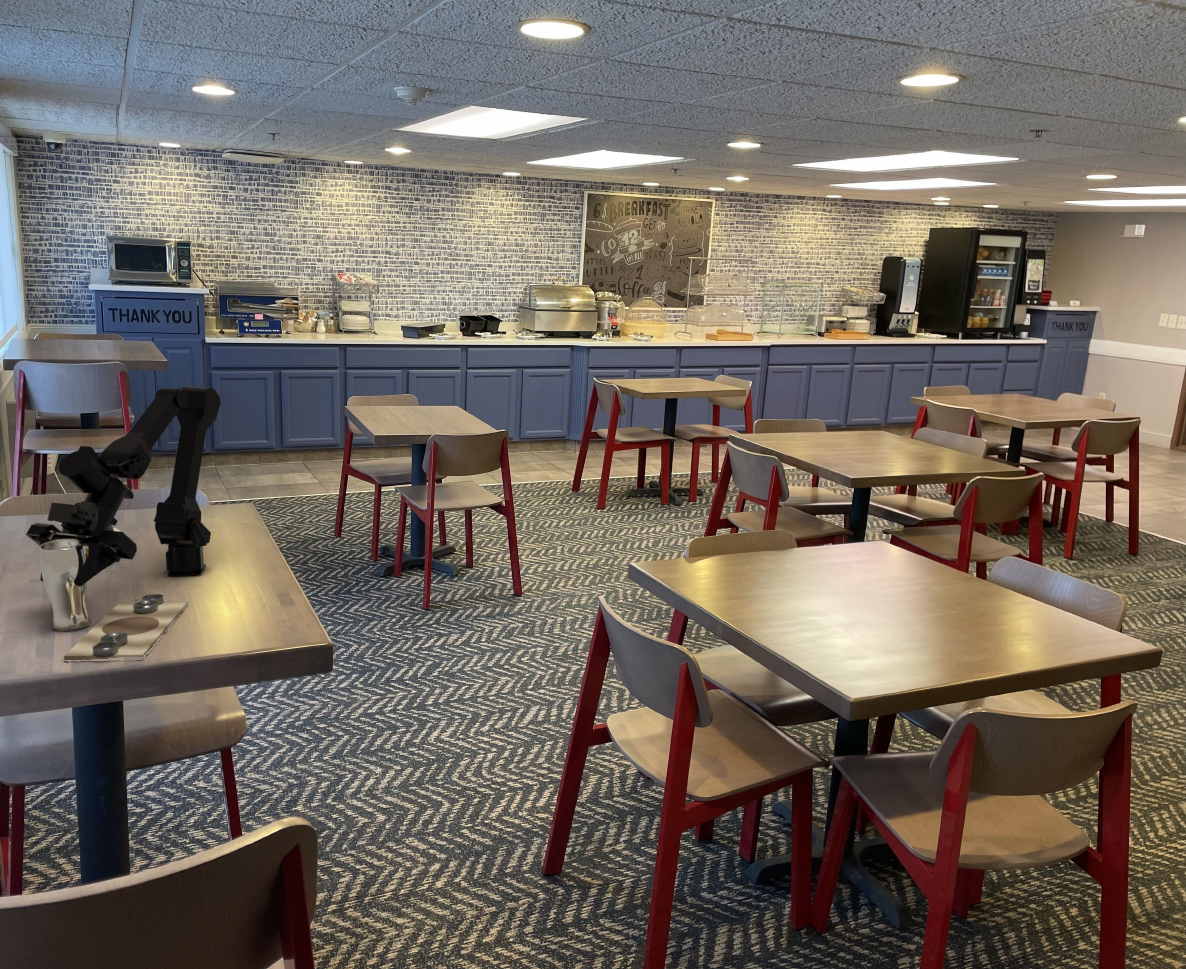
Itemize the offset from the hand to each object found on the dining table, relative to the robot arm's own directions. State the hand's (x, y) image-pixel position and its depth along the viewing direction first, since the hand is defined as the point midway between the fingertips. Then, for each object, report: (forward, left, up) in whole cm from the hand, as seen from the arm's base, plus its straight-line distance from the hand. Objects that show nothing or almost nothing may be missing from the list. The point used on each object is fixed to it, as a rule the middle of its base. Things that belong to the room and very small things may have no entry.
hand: (60, 583), depth 164 cm
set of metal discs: (-12, +3, -8) cm, 15 cm away
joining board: (-12, +3, -8) cm, 15 cm away
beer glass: (-1, -1, -8) cm, 9 cm away
